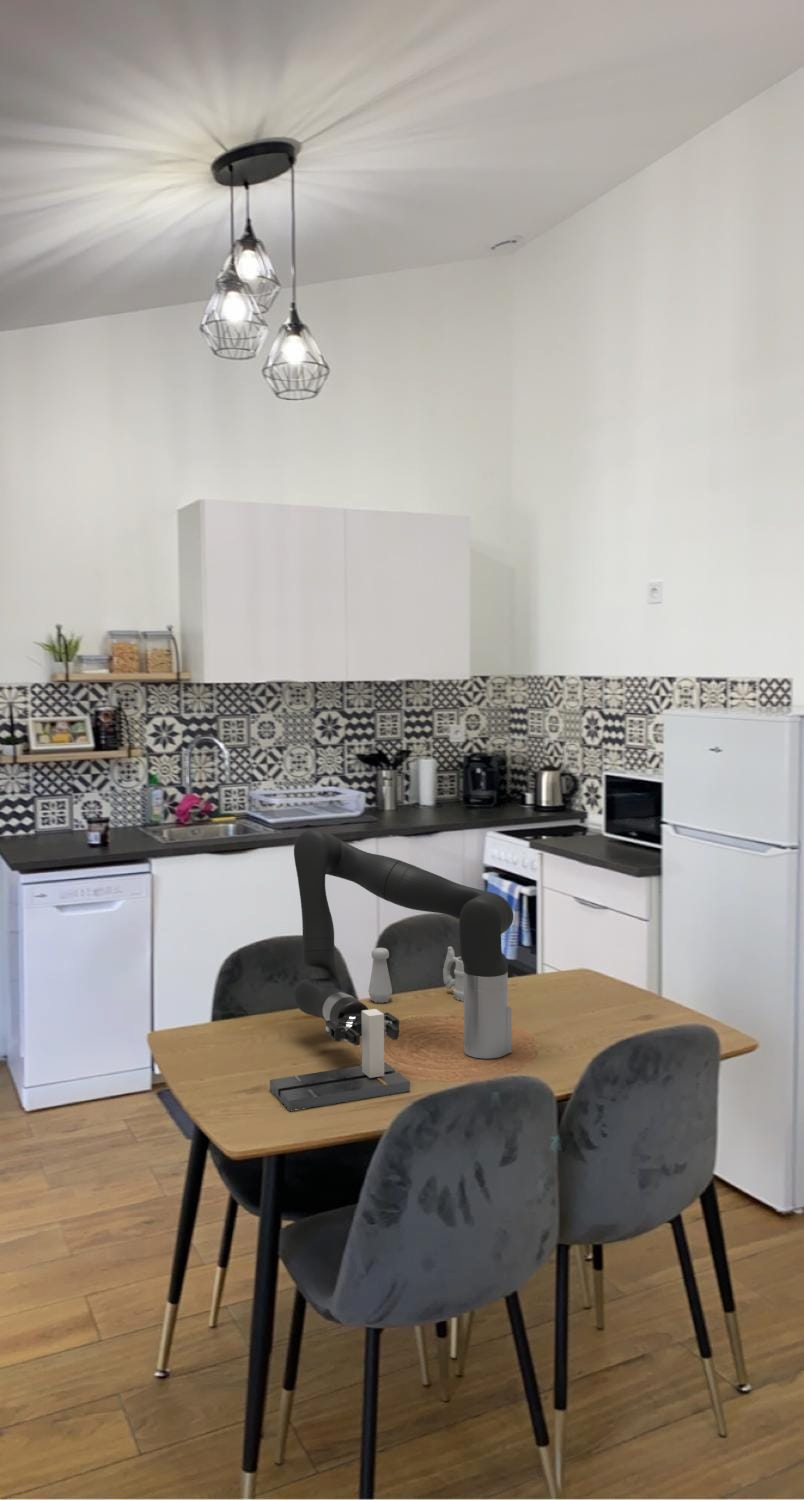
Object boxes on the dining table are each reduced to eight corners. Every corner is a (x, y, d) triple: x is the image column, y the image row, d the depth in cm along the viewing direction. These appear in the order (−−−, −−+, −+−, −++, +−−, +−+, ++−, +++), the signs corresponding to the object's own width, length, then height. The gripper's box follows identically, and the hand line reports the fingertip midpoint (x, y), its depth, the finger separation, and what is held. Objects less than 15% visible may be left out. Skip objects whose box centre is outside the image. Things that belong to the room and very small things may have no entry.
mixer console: (384, 1071, 223) (384, 1060, 222) (409, 1091, 212) (409, 1080, 211) (269, 1090, 213) (269, 1078, 213) (289, 1111, 202) (289, 1099, 202)
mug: (471, 1004, 270) (471, 955, 269) (434, 995, 278) (433, 948, 277) (490, 997, 276) (490, 949, 275) (453, 989, 283) (452, 942, 283)
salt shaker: (389, 1005, 270) (389, 952, 269) (366, 1003, 271) (366, 951, 270) (394, 998, 275) (394, 946, 275) (371, 997, 277) (371, 945, 276)
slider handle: (376, 1074, 217) (375, 1008, 217) (384, 1081, 214) (383, 1014, 213) (362, 1077, 216) (361, 1010, 215) (369, 1083, 212) (369, 1016, 212)
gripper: (312, 1000, 224) (342, 1022, 209) (378, 992, 230) (411, 1013, 215) (313, 1037, 225) (342, 1062, 210) (378, 1028, 231) (411, 1051, 216)
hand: (377, 1037), depth 213 cm, fingers open, 7 cm apart
